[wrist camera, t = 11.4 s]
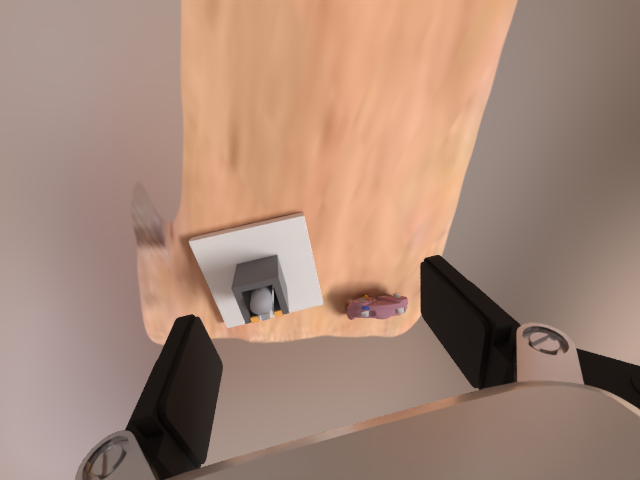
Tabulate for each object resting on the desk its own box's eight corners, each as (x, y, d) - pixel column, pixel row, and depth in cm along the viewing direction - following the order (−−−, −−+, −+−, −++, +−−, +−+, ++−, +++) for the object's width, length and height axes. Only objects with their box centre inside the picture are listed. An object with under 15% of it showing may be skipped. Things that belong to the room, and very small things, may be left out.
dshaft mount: (191, 237, 38) (171, 268, 31) (303, 211, 39) (310, 236, 32) (228, 321, 45) (220, 364, 38) (322, 298, 46) (332, 335, 39)
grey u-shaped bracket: (236, 264, 39) (231, 289, 34) (277, 254, 40) (278, 278, 34) (248, 296, 42) (245, 324, 37) (287, 287, 42) (289, 314, 37)
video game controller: (395, 288, 50) (414, 294, 43) (397, 313, 50) (416, 323, 43) (343, 292, 49) (353, 299, 42) (344, 318, 48) (355, 329, 42)
